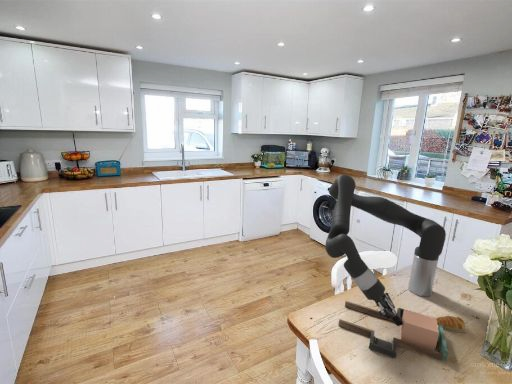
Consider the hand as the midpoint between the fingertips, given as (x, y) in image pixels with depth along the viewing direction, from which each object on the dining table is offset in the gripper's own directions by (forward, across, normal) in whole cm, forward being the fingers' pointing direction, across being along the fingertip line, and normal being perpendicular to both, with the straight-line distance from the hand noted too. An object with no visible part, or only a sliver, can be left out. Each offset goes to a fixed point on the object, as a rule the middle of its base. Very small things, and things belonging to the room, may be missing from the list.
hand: (400, 324), depth 97 cm
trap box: (0, 0, -5) cm, 5 cm away
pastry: (+15, -14, +9) cm, 23 cm away
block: (+7, 0, +1) cm, 7 cm away
